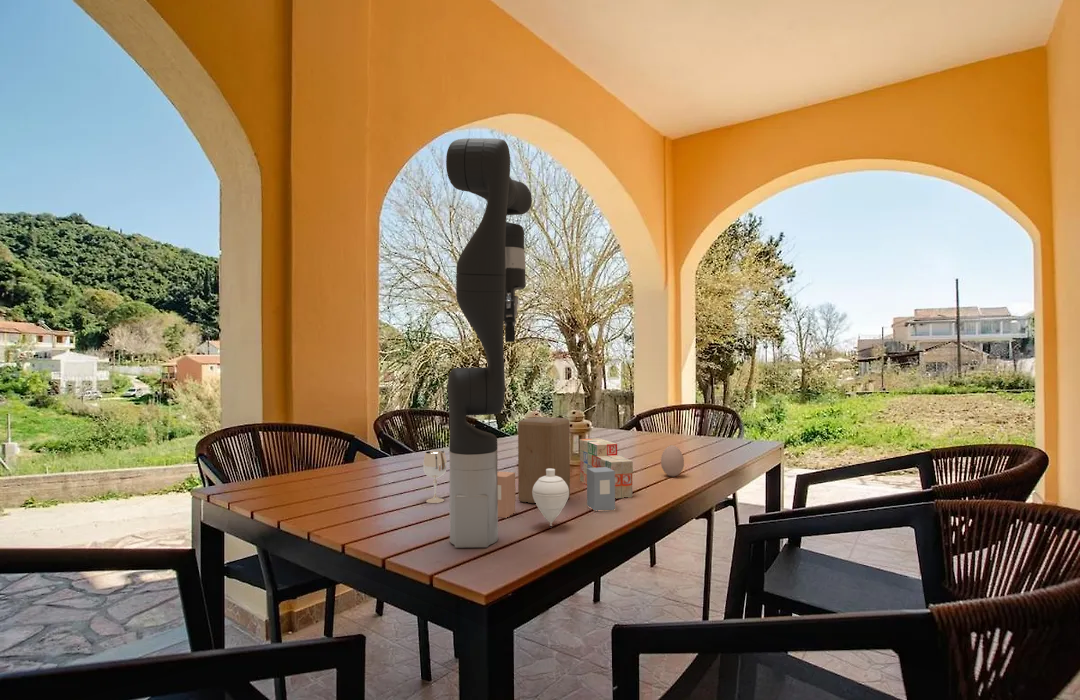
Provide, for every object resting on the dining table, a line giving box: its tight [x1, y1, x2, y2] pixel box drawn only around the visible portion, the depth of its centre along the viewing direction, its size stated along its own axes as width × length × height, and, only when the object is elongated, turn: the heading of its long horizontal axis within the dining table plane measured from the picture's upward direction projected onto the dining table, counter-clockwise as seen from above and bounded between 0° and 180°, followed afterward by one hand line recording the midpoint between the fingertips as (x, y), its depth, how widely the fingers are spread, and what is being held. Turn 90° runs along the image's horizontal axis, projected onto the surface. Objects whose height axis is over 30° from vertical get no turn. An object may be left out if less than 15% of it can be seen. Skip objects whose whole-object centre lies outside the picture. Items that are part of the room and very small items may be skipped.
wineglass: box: [422, 450, 448, 504], centre depth 137 cm, size 6×6×12 cm
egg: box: [660, 444, 685, 477], centre depth 163 cm, size 7×7×9 cm
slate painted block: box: [586, 467, 616, 511], centre depth 129 cm, size 5×5×9 cm
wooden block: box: [517, 416, 571, 504], centre depth 137 cm, size 10×10×20 cm
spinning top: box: [532, 468, 570, 527], centre depth 115 cm, size 8×8×12 cm
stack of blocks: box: [579, 437, 634, 499], centre depth 148 cm, size 21×6×12 cm, turn 17°
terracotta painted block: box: [497, 470, 516, 519], centre depth 125 cm, size 5×5×9 cm
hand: (510, 341), depth 131 cm, fingers closed
